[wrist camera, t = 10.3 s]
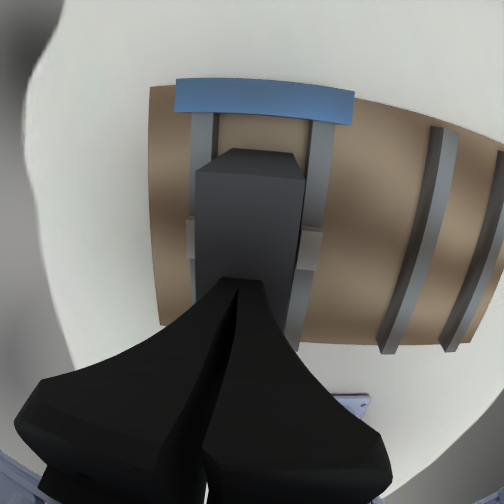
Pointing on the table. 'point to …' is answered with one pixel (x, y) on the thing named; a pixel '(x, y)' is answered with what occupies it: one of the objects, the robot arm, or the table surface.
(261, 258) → the dark grey tall block
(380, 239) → the board
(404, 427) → the table surface
